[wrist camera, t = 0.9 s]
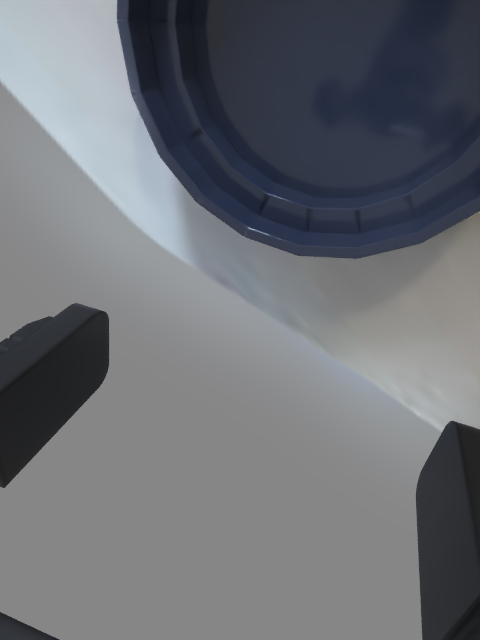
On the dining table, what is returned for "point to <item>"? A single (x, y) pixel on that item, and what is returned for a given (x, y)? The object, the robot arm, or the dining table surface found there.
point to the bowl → (314, 115)
